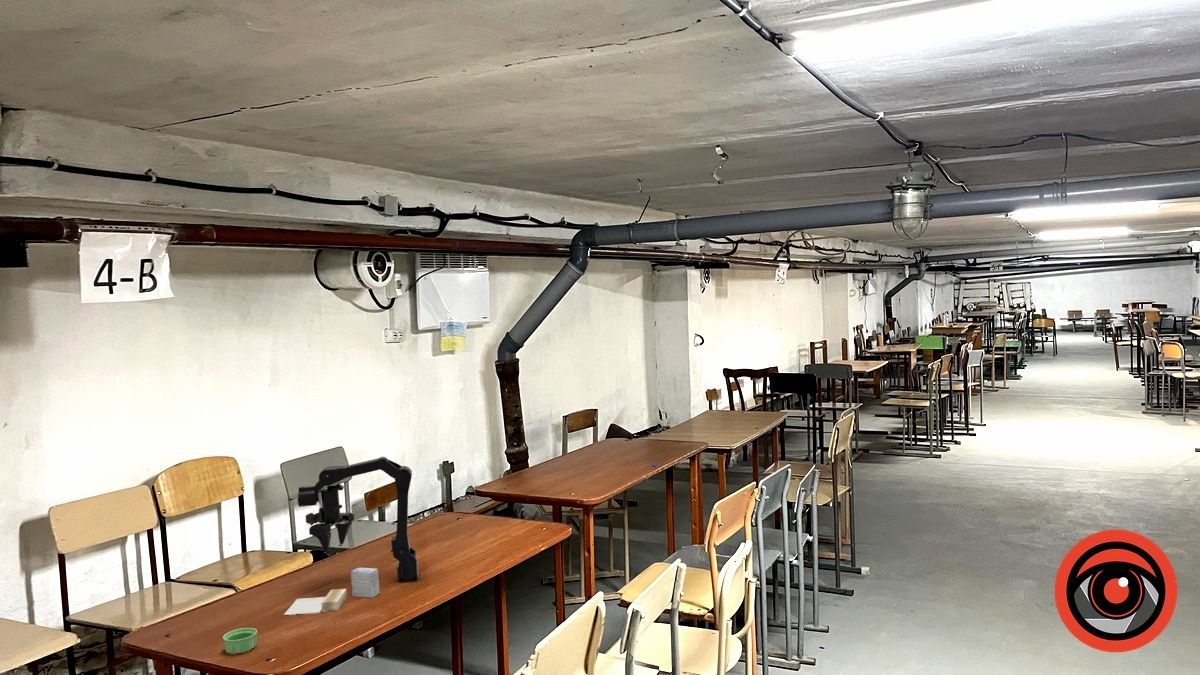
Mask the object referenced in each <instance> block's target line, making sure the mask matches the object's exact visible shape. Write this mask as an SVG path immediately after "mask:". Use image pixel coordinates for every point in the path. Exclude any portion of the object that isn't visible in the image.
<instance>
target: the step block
mask: <svg viewBox="0 0 1200 675" xmlns="http://www.w3.org/2000/svg"><path fill="white" fill-rule="evenodd" d="M347 590H348V589H347V588H335V589H330V590H329V592H328V593H327V595H326V596H324V597H325V599H324V600H323V601H322V611H321V612H322V613H325V612H326V613H327V612H328V611H329V612H338V611H339V610H340V608H341V607H342V606H343V605H344V602H346V600H347V598H348V592H347Z"/></svg>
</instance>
